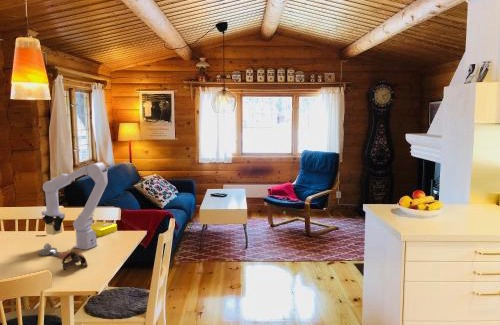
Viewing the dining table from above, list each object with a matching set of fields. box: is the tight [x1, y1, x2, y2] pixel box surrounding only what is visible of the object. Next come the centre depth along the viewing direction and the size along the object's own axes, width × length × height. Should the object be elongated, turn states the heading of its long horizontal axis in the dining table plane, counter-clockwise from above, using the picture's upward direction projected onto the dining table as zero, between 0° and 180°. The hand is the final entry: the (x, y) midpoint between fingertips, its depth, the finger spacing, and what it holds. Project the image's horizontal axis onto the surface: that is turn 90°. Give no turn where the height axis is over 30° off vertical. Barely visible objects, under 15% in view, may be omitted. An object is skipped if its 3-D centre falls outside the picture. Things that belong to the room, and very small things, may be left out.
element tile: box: [91, 221, 118, 238], centre depth 231 cm, size 15×15×5 cm
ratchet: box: [38, 243, 72, 260], centre depth 192 cm, size 22×8×5 cm, turn 65°
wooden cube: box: [45, 222, 63, 236], centre depth 205 cm, size 5×5×5 cm
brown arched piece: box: [61, 250, 89, 270], centre depth 177 cm, size 12×10×8 cm
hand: (54, 230), depth 205 cm, fingers closed on wooden cube, 5 cm apart
